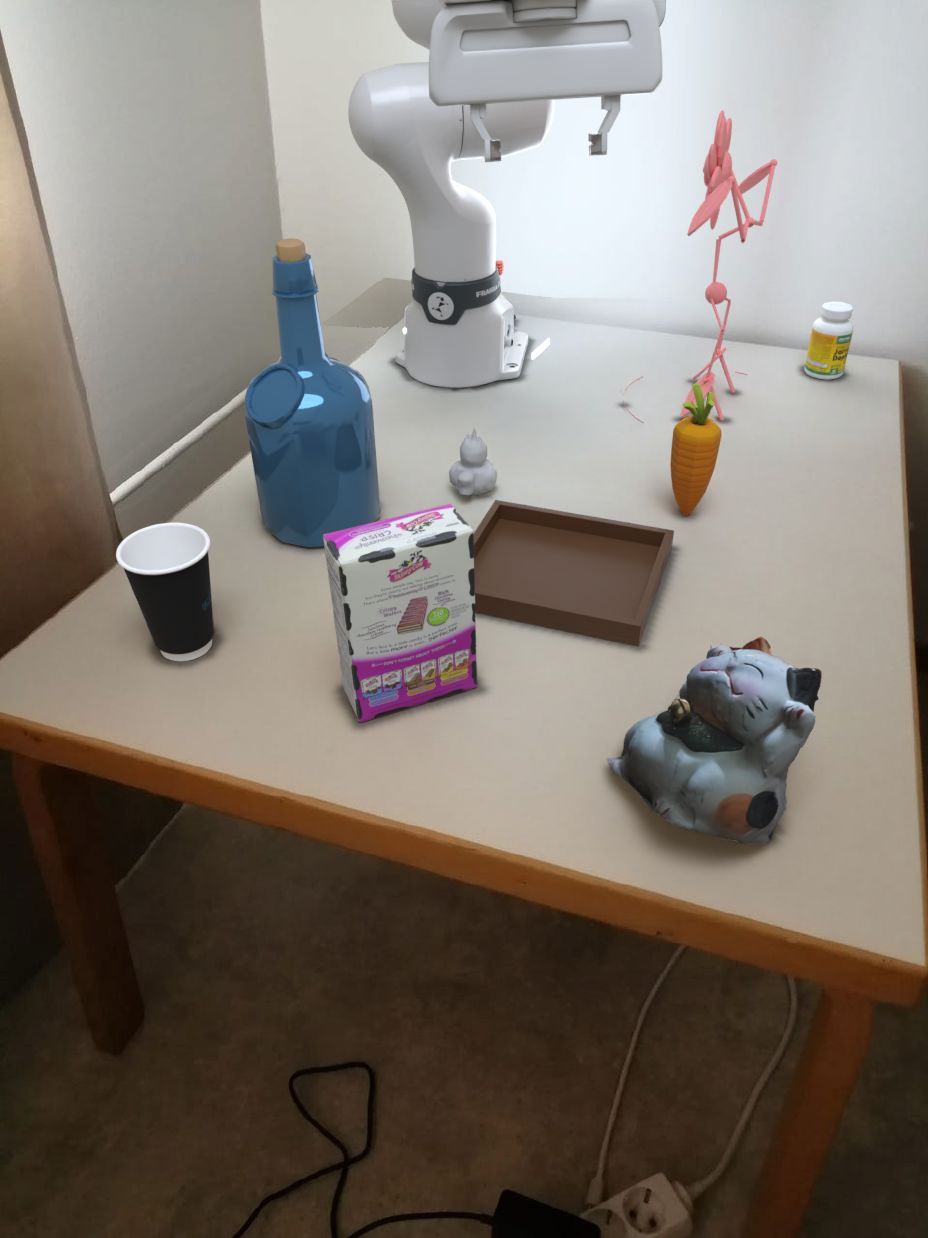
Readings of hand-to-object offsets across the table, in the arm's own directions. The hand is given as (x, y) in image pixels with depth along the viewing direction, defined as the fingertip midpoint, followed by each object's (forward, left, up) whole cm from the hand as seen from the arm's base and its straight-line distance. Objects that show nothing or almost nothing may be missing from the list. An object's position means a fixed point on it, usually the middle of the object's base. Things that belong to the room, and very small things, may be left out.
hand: (545, 158), depth 87 cm
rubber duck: (-1, -7, -37) cm, 37 cm away
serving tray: (+12, +7, -36) cm, 39 cm away
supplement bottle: (-49, +29, -37) cm, 68 cm away
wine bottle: (+10, -21, -37) cm, 44 cm away
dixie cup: (+34, -23, -37) cm, 55 cm away
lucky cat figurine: (+36, +25, -37) cm, 57 cm away
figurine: (-34, +11, -37) cm, 51 cm away
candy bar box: (+33, -1, -37) cm, 49 cm away
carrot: (-4, +17, -37) cm, 40 cm away
